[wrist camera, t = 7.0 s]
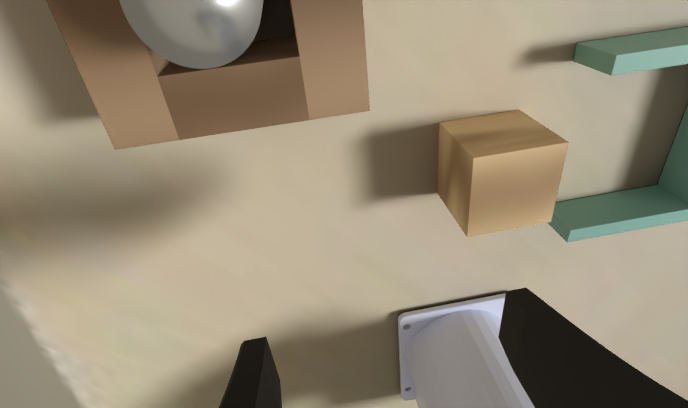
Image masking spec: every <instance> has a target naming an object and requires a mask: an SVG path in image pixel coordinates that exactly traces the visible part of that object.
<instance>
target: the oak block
mask: <svg viewBox="0 0 688 408" xmlns="http://www.w3.org/2000/svg"><path fill="white" fill-rule="evenodd" d="M568 143H569V142H568V141H566V140H565V139H563V138H561V137H560V136H558V135H557V134H555V133H554V132H552V131H551V130H549V129H548V128H546V127H545V126H543V125H542V124H540V123H539V122H537V121H536V120H534V119H532V118H531V117H529V116H528V115H526V114H525V113H523V112H522V111H520V110H514V111H508V112H501V113H495V114H489V115H483V116H477V117H470V118H464V119H458V120H452V121H445V122H439V154H438V190H437V193H438V195H439V196H440V198H441V199H442V201H443V202H444V203H445V205H446V206H447V208H448V209H449V211H450V212H451V214H452V215H453V217H454V218H455V220H456V221H457V223H458V224H459V226H460V227H461V229H462V230H463V232H464V233H465V235H466V236H467V237H471V236H476V235H482V234H487V233H493V232H498V231H504V230H509V229H515V228H520V227H526V226H531V225H537V224H542V223H548V222H551V220H552V215H553V211H554V206H555V202H556V197H557V193H558V188H559V184H560V179H561V175H562V170H563V166H564V161H565V157H566V152H567V148H568Z"/></svg>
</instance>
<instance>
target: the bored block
mask: <svg viewBox="0 0 688 408" xmlns="http://www.w3.org/2000/svg"><path fill="white" fill-rule="evenodd" d="M46 1H47V3H48V5H49V7H50V9H51V11H52V14H53V16H54V18H55V20H56V22H57V25H58V27H59V29H60V31H61V33H62V35H63V38H64V40H65V42H66V44H67V46H68V48H69V51H70V53H71V55H72V57H73V59H74V62H75V64H76V66H77V68H78V70H79V72H80V75H81V77H82V79H83V81H84V83H85V85H86V88H87V90H88V92H89V94H90V96H91V99H92V101H93V103H94V105H95V107H96V109H97V112H98V114H99V116H100V118H101V120H102V122H103V125H104V127H105V129H106V131H107V133H108V136H109V138H110V140H111V142H112V144H113V146H114V149H115V150H117V149H123V148H130V147H136V146H143V145H149V144H156V143H162V142H169V141H175V140H182V139H189V138H195V137H202V136H208V135H215V134H221V133H228V132H234V131H241V130H247V129H254V128H260V127H267V126H273V125H280V124H286V123H293V122H299V121H306V120H312V119H319V118H325V117H332V116H338V115H345V114H352V113H358V112H365V111H370V106H369V92H368V77H367V63H366V48H365V34H364V19H363V5H362V0H289V5H290V11H291V17H292V24H293V30H294V36H293V37H285V38H278V39H271V40H264V41H257V42H252V43H251V44H250V46H249V47H248V48H247V49H246V50H245V52H244V53H243V54H241V55H240V56H239V57H238V58H236V59H235V60H233V61H232V62H230V63H227V64H225V65H223V66H219V67H216V68H209V69H196V68H189V67H185V66H181V65H178V64H175V63H173V62H171V61H169V60H167V59H165V58H163V57H161V56H160V55H158V54H157V53H155V52H154V51H153V50H152V49H151V48H149V47H148V46H147V45H146V44H145V43H144V42H143V41H142V40H141V39H140V38H139V36H138V35H137V34H136V33H135V31H134V30H133V28H132V27H131V25H130V24H129V22H128V20H127V18H126V16H125V14H124V12H123V10H122V7H121V4H120V1H119V0H46Z"/></svg>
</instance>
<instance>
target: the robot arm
mask: <svg viewBox="0 0 688 408" xmlns="http://www.w3.org/2000/svg"><path fill="white" fill-rule="evenodd" d="M406 324H407V325H406ZM398 337H399V362H400V386H401V396H402V399H403V400H412V399H416V401H417V404H418V407H419V408H688V401H687V400H685V399H684V398H682V397H680V396H679V395H677V394H675V393H674V392H672V391H670V390H669V389H667V388H665V387H664V386H662V385H660V384H659V383H657V382H656V381H654V380H652V379H651V378H649V377H648V376H646V375H644V374H643V373H641V372H640V371H638V370H637V369H635V368H634V367H632V366H631V365H629V364H628V363H627V362H625V361H624V360H622V359H621V358H619V357H618V356H616V355H615V354H613V353H612V352H611V351H609V350H608V349H606V348H605V347H604V346H602V345H601V344H599V343H598V342H597V341H595V340H594V339H593V338H591V337H590V336H588V335H587V334H586V333H584V332H583V331H582V330H580V329H579V328H578V327H576V326H575V325H574V324H572V323H571V322H570V321H568V320H567V319H566V318H565V317H563V316H562V315H561V314H559V313H558V312H557V311H556V310H554V309H553V308H552V307H550V306H549V305H548V304H547V303H545V302H544V301H543V300H541V299H540V298H539V297H538V296H536V295H535V294H534V293H532V292H531V291H530V290H528V289H527V288H522V289H517V290H512V291H506V293H504V294H499V295H494V296H489V297H483V298H478V299H473V300H468V301H462V302H457V303H452V304H447V305H441V306H436V307H431V308H426V309H420V310H415V311H410V312H405V313H402V314H401V315H400V316H399V317H398ZM219 408H282V403H281V388H280V379H279V376H278V373H277V369H276V366H275V363H274V360H273V357H272V354H271V351H270V347H269V344H268V341H267V338H266V337H263V338H257V339H252V340H247V341H244V342H243V343H242V344H241V347H240V351H239V354H238V357H237V360H236V363H235V366H234V369H233V372H232V375H231V378H230V381H229V383H228V386H227V389H226V391H225V394H224V396H223V399H222V401H221V404H220V406H219Z"/></svg>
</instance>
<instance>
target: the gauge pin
mask: <svg viewBox="0 0 688 408" xmlns="http://www.w3.org/2000/svg"><path fill="white" fill-rule="evenodd" d="M119 1H120V4H121V7H122V10H123V12H124V14H125V16H126V18H127V20H128V22H129V24H130V25H131V27H132V28H133V30H134V31H135V33H136V34H137V35H138V36H139V38H140V39H141V40H142V41H143V42H144V43H145V44H146V45H147V46H148V47H149V48H151V49H152V50H153V51H154V52H155V53H157V54H158V55H160V56H161V57H163V58H165V59H167V60H169V61H171V62H173V63H175V64H178V65H181V66H185V67H189V68H196V69H209V68H216V67H219V66H223V65H225V64H227V63H230V62H232V61H233V60H235V59H236V58H238V57H239V56H240V55H241V54H243V53H244V52H245V50H246V49H247V48H248V47H249V46H250V44H251V43H252V41H253V40H254V38H255V35H256V33H257V31H258V28H259V25H260V20H261V15H262V8H263V1H264V0H119Z"/></svg>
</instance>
